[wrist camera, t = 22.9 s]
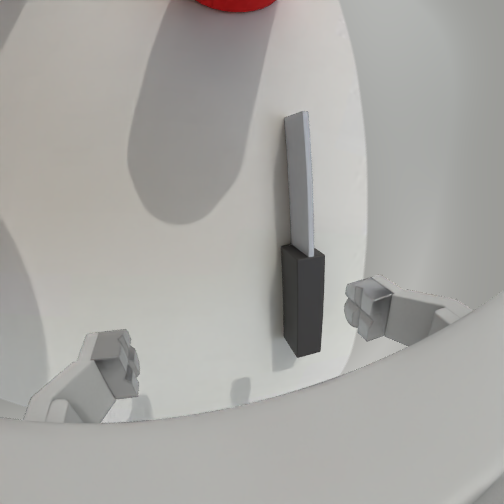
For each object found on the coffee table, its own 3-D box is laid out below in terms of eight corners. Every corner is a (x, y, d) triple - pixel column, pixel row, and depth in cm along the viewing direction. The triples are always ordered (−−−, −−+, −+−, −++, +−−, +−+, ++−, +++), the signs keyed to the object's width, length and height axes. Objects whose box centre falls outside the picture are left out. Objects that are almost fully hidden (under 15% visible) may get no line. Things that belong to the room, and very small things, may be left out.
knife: (305, 331, 23) (320, 351, 21) (283, 337, 23) (296, 358, 20) (300, 117, 18) (320, 111, 15) (272, 117, 17) (289, 110, 15)
